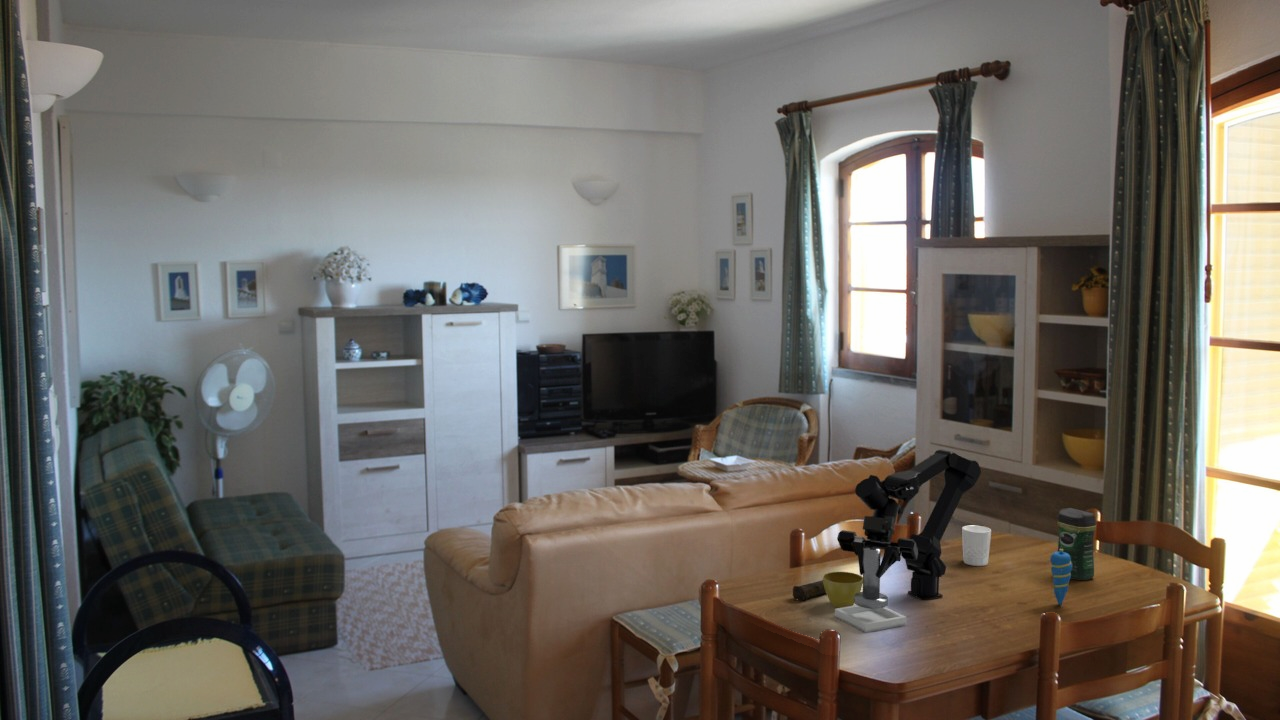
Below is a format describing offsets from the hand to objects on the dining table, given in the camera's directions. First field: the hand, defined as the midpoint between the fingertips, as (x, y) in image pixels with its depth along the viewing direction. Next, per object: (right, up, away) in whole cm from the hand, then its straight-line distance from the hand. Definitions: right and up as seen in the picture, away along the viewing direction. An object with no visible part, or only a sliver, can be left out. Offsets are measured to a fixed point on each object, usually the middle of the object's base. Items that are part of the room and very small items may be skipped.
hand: (869, 575), depth 247 cm
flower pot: (-4, -10, +14) cm, 18 cm away
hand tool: (-7, -10, +23) cm, 26 cm away
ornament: (+51, -11, +14) cm, 54 cm away
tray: (+1, -11, +2) cm, 12 cm away
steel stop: (+1, -7, +2) cm, 7 cm away
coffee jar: (+65, -8, +39) cm, 76 cm away
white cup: (+42, -7, +51) cm, 66 cm away
